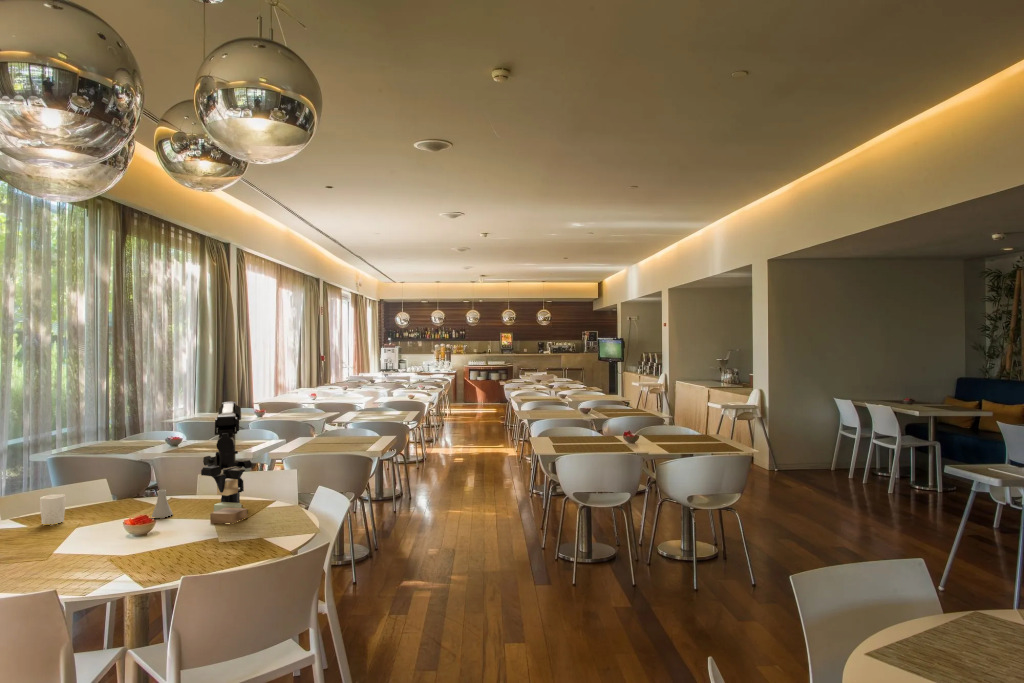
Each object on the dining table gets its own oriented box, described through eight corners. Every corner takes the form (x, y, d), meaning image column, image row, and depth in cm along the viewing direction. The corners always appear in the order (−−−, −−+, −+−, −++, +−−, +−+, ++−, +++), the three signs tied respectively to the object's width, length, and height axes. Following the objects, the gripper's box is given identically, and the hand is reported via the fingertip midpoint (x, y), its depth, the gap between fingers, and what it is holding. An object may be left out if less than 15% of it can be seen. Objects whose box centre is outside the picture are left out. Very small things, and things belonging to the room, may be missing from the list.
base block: (226, 518, 251) (226, 507, 251) (247, 519, 249) (247, 508, 249) (210, 524, 242) (210, 513, 242) (231, 525, 240) (231, 514, 240)
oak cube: (228, 491, 249) (227, 478, 249) (237, 492, 247) (237, 479, 247) (217, 494, 245) (217, 481, 245) (227, 495, 243) (226, 482, 243)
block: (221, 512, 260) (221, 502, 260) (241, 513, 257) (241, 503, 257) (213, 515, 255) (213, 504, 255) (233, 516, 253) (233, 505, 253)
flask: (176, 514, 256) (176, 488, 256) (165, 519, 249) (164, 492, 249) (159, 514, 257) (158, 488, 257) (147, 519, 250) (146, 492, 250)
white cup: (34, 525, 244) (34, 497, 244) (56, 519, 251) (56, 493, 251) (49, 527, 241) (48, 499, 241) (70, 521, 248) (70, 494, 248)
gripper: (230, 444, 258) (231, 484, 258) (189, 451, 241) (190, 494, 241) (252, 445, 253) (253, 486, 253) (212, 453, 236) (212, 497, 236)
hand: (227, 490), depth 246 cm, fingers closed on oak cube, 5 cm apart
